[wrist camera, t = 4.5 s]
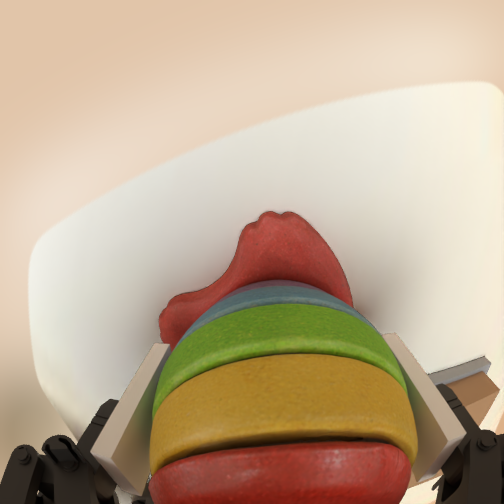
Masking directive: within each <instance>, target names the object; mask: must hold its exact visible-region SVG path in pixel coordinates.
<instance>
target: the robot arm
mask: <svg viewBox="0 0 504 504" xmlns="http://www.w3.org/2000/svg"><path fill="white" fill-rule="evenodd" d="M381 336H382V338H383V339H384V340H385V342H386V343H387V344H388V346H389V347H390V349H391V351H392V353H393V355H394V356H395V358H396V360H397V363H398V365H399V367H400V370H401V372H402V375H403V377H404V380H405V383H406V387H407V393H408V399H409V402H410V405H411V408H412V411H413V415H414V420H415V425H416V431H417V439H418V452H417V457H416V460H415V463H414V465H413V467H412V472H413V474H414V477H415V479H416V482H417V483H419V482H421V481H424V480H426V479H429V478H431V477H434V476H435V475H436V474H437V472H438V471H439V470H440V469H441V470H442V472H443V475H442V476H441V478H440V479H439V480H438V481H437V482H436V483H435V484H434V485H433V487H432V490H435V489H436V488H437V486H438V485H439V488H438V494H437V499H436V504H504V434H500V435H496V434H495V433H494V432H492V431H490V430H485V429H484V430H481V429H480V428H479V427H478V425H477V424H476V422H475V421H474V419H473V418H472V417H471V415H470V414H469V412H468V411H467V409H466V408H465V407H464V406H463V405H462V402H461V401H460V400H459V399H458V397H457V396H456V394H455V393H454V392H453V390H452V389H451V388H449V387H448V386H446V385H445V384H443V383H441V384H438V385H434V384H433V382H432V381H431V379H430V378H429V377H428V375H427V374H426V373H425V371H424V370H423V368H422V367H421V366H420V364H419V363H418V362H417V360H416V359H415V358H414V356H413V355H412V354H411V352H410V351H409V350H408V348H407V347H406V346H405V344H404V343H403V342H402V340H401V339H400V338H399V337H398V335H397V334H396V333H390V334H383V335H381ZM171 353H172V352H171V347H170V344H161V343H154V345H153V346H152V348H151V350H150V351H149V353H148V354H147V356H146V358H145V359H144V361H143V362H142V364H141V366H140V367H139V369H138V371H137V372H136V374H135V376H134V377H133V379H132V380H131V382H130V384H129V385H128V387H127V389H126V390H125V392H124V394H123V395H122V397H121V399H120V401H118V400H113V399H109V400H108V401H107V402H105V403H104V404H103V405H101V407H100V408H99V410H98V411H97V413H96V414H95V415H96V416H94V418H93V419H92V421H91V424H89V426H88V427H87V429H86V430H85V432H84V434H83V435H82V437H81V438H80V440H79V442H78V443H77V445H75V443H74V442H73V441H72V440H71V438H69V437H67V436H65V435H55V436H52V437H50V438H48V439H47V440H46V441H45V443H44V444H43V446H42V451H43V452H44V453H45V454H46V455H40V454H38V453H37V451H36V450H35V449H34V448H33V447H32V446H30V445H20V446H18V447H17V448H15V449H14V451H13V452H12V454H11V457H10V459H9V462H8V464H7V467H6V469H5V472H4V475H3V478H2V481H1V484H0V504H119V501H118V497H117V494H116V492H115V491H114V490H115V488H116V486H117V485H118V486H119V487H120V488H121V490H122V491H124V492H128V493H131V494H133V497H132V504H154V502H153V500H152V497H151V494H150V491H149V488H148V487H149V484H146V482H147V479H148V476H149V474H150V460H149V453H150V437H151V430H152V424H153V421H152V411H153V403H154V398H155V394H156V389H157V385H158V382H159V378H160V375H161V372H162V370H163V368H164V365H165V363H166V361H167V359H168V358H169V356H170V355H171ZM38 490H39V493H38V495H37V492H38Z"/></svg>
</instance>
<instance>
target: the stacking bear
mask: <svg viewBox="0 0 504 504" xmlns="http://www.w3.org/2000/svg"><path fill="white" fill-rule="evenodd" d="M159 327H160V332H161V333H160V337H161V339H162V341H163V343H164V344H170V347H171V352H172V353H171V355H170V356H169V358H168V359H167V361H166V363H165V365H164V368H163V370H162V372H161V375H160V378H159V382H158V385H157V389H156V394H155V398H154V403H153V411H152V421H153V424H152V430H151V437H150V453H149V460H150V472H151V476H152V478H151V480H150V481H149V487H148V488H149V491H150V494H151V497H152V500H153V502H154V504H399V503H400V501H401V500H402V498H403V496H404V495H405V492H406V490H407V488H408V485H409V482H410V478H411V469H412V467H413V465H414V463H415V460H416V457H417V452H418V439H417V431H416V425H415V420H414V415H413V411H412V408H411V405H410V402H409V399H408V393H407V387H406V383H405V380H404V377H403V375H402V372H401V370H400V367H399V365H398V363H397V360H396V358H395V356H394V355H393V353H392V351H391V349H390V347H389V346H388V344H387V343H386V342H385V340H384V339H383V338H382V336H381V334H380V333H379V332H378V331H377V329H376V328H375V327H374V326H373V325H372V324H371V323H370V322H369V321H368V320H367V319H365V318H364V317H363V316H362V315H361V314H360V313H358V312H357V311H356V310H355V309H353V302H352V296H351V292H350V288H349V285H348V282H347V279H346V276H345V274H344V272H343V269H342V267H341V265H340V263H339V262H338V260H337V258H336V256H335V255H334V253H333V252H332V250H331V249H330V247H329V246H328V244H327V243H326V242H325V241H324V239H323V238H322V237H321V236H320V234H319V233H318V232H317V231H316V230H315V229H314V228H313V227H312V226H311V225H310V224H309V223H308V222H307V221H305V220H304V219H303V218H302V217H300V216H299V215H297V214H295V213H293V212H285V213H283V214H281V215H280V214H277V213H275V212H272V211H269V212H265V213H263V214H262V215H261V216H260V217H259V219H258V221H257V222H254V223H250V224H248V225H247V226H246V227H245V228H244V229H243V231H242V232H241V235H240V238H239V242H238V246H237V250H236V253H235V256H234V258H233V260H232V262H231V265H230V266H229V268H228V269H227V271H226V272H225V273H224V275H223V276H222V277H221V278H220V279H218V280H217V281H216V282H215V283H213V284H212V285H210V286H209V287H207V288H205V289H203V290H200V291H197V292H191V293H186V294H181V295H178V296H176V297H174V298H172V299H171V300H170V301H169V303H168V305H167V308H165V309H164V310H163V311H162V313H161V314H160V316H159Z"/></svg>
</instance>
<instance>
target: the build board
mask: <svg viewBox="0 0 504 504" xmlns="http://www.w3.org/2000/svg"><path fill="white" fill-rule="evenodd" d="M490 365H491V362H490V361H489V360H488V359H487V358H486V357H485V356H484V357H481V358H479V359H476V360H473V361H471V362H468V363H465V364H462V365H459V366H456V367H453V368H450V369H446V370H443V371H440V372H436V373H433V374H429V375H428V377H429V378H430V379H431V381H432V382H433V384H434V385H438V384H441V383H443V384H445V385H446V386H448V387H449V388H451V389H452V390H453V392H454V393H455V394H456V396H457V397H458V399H459V400H460V401H461V402H462V405H463V406H464V407H465V408H466V409H467V411H468V412H469V414H470V415H471V417H472V418H473V419H474V421H475V422H476V424H477V425H478V427H479V425H480V424H481V422H482V421H483V419H484V417H485V416H486V414H487V412H488V411H489V409H490V407H491V406H492V404H493V402H494V400H495V398H496V396H497V395H498V393H499V391H500V389H499V388H498V387H497V386H496V385H495V384H494V383H493V382H492V380H491V379H490V378H489V377H488V376H487V375H486V374H487V372H488V370H489V367H490ZM441 475H443V472H442V470H441V469H440V470H439V471H438V472H437V474H436V475H435V476H434V477H431V478H429V479H426V480H424V481H421V482H419V483H417V482H416V479H415V477H414V474H413V472H412V469H411V478H410V482H409V485H408V488H411V487H414V486H416V485H419V484H421V483H424V482H427V481H429V480H431V479H434V478H436V477H439V476H441ZM408 488H407V489H408Z"/></svg>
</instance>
